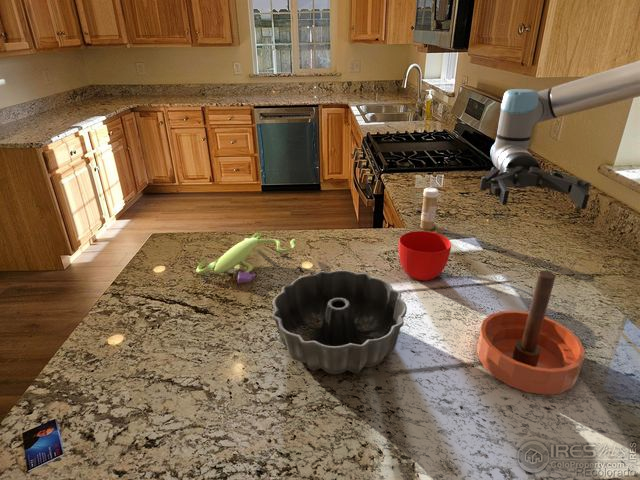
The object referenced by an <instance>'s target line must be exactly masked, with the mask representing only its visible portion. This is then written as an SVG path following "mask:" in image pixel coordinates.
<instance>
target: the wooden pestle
mask: <svg viewBox="0 0 640 480" xmlns="http://www.w3.org/2000/svg"><path fill="white" fill-rule="evenodd" d="M555 280H556V274H555V273H554V272H551V271H549V270H541V271H540V270H539V272H538V275H537V279H536V283H535V287H534V291H533V294H532V299H531V303H530V307H529V311H528V312H529V314H528V318H527V322H526V326H525V330H524V334H523V338H522V340H519V341H517V342H516V344H515V348H514V352H513V359H514V360H515V361H517V362H521V363H524V364H527V365H530V366H533V367H535V366H536V365H537V363H538V360H539V356H540V352H541V349H540V347H539V346H538V345H537V343H538V339H539V335H540V332H541V328H542V324H543V321H544V317H546V313H547V310H548V306H549V302H550V299H551V294H552V291H553V288H554V284H555Z"/></svg>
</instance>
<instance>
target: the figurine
mask: <svg viewBox="0 0 640 480" xmlns="http://www.w3.org/2000/svg"><path fill="white" fill-rule="evenodd" d="M262 235H263V233H262V232H255V233H254V234H252V236H251V237H245V238H244V239H243V240H242V241H240V242H238V243H237V244H235V245H233V246H232V247H231V248H229V249H228V250H227V251H226V252H225V253H224V254H223V255H221V256H220V257H218V258H217V259H216V260H214V261H212V262H211V263H209V264H208V265H207V266H206V267H204V266H205V264H206V262H207V259H206V258H202V260H201V261H200V262H199V264H198V265H197V267H196V269H195V273H196V274H197V275H203V274H206V273H208V272H209V271H211V270H212V269H213V268H214V269H213V272H215V273H218V274H222V273H225V272H228V274H232V275H233V273H234V272H235V267H237V266H239V264H241V265H242V266H244V267H246V268H247V267H248V268H247V270H244V269H242V268H241V269H240V270H239V271H238V274H237V275H236V277H237V280H236V281H237V284H246V283H247V284H248V283H251V281H252V280H255V277H256V273H254V271H253V269H254V266H253V264H251V263H249V262H247V261H245V260H246V259H247V258H248V257H249V256H250V255H251V254H252V253H253V252H254V250H255V249H256V247H257V246H258V244H274V245H276V251H277V252H278V253H279V254H286V253H289V252H292V251H294V250H295V249H296V248H297V247H296V245H295V243H297V239H295V238H293V239H291V240H290V242H289V243H290V244H289V245H290V247H291V248H286V249H285V248H281V241H280V240H278V239H276V238H275V239H274V238H261V237H262ZM203 267H204V268H203Z"/></svg>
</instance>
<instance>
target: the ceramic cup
mask: <svg viewBox="0 0 640 480" xmlns="http://www.w3.org/2000/svg"><path fill="white" fill-rule="evenodd" d="M451 250H452V243H451V240H450V239H448V238H447V237H446V236H444V235H442V234H439V233H437V232H434V231H433V232H432V231H426V230H416V231H409V232H406V233H403V234H401V235H400V237H399V240H398V256H399V257H398V258H399V263H400V265H401V267H402V269H403V271H404V272H405V274H406V275H407V276H408V277H410V278H411V279H413V280H416V281H423V282H424V281H425V282H426V281H432V280H434V279H435V278H437V277H438V276H439V275H440V274H441V273H442V272H443V271H444V270H445V268H446V266H447V263H448V260H449V258H450V254H451Z"/></svg>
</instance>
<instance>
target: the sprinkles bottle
mask: <svg viewBox="0 0 640 480" xmlns="http://www.w3.org/2000/svg"><path fill="white" fill-rule="evenodd" d="M438 197H439V189H438V188H434V187H425V188H424V189H423V201H422V209H421V215H420V216H421V217H420V218H421V219H420V225H419V227H420V228H421V229H423V230H429V231H430V230H433V229H435V221H436V215H437V207H438Z"/></svg>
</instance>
